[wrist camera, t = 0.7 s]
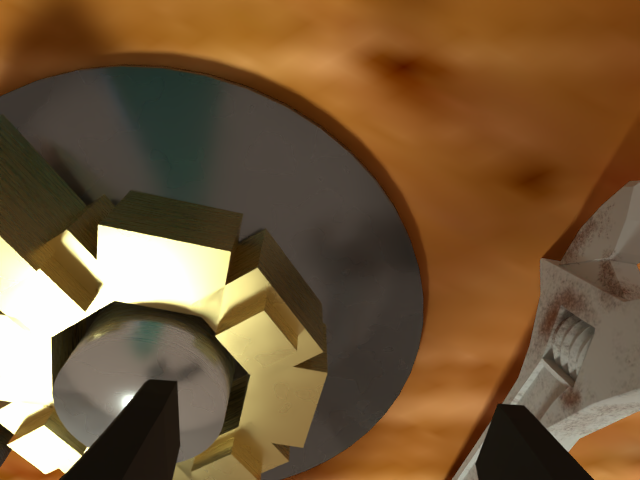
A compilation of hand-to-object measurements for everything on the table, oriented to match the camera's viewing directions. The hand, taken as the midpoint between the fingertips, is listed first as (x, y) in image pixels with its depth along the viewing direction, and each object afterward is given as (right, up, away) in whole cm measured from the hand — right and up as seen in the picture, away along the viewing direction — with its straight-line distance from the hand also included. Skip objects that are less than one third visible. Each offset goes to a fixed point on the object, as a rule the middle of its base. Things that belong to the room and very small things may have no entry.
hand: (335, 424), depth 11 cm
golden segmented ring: (-8, +2, +9) cm, 12 cm away
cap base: (-7, 0, +11) cm, 13 cm away
